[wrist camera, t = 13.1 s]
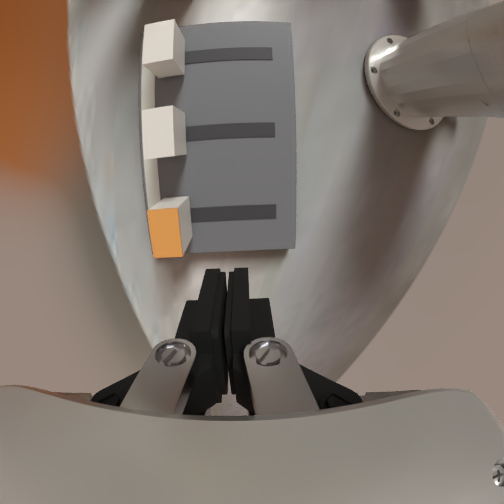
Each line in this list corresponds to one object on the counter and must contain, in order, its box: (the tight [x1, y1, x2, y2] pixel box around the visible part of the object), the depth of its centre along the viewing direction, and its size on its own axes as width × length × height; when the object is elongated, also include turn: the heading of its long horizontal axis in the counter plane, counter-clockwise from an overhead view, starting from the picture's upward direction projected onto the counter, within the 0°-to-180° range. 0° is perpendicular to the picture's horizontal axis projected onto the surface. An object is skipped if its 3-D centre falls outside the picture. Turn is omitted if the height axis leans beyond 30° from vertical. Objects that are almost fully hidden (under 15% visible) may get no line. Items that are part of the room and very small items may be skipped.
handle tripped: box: [147, 196, 193, 258], centre depth 23 cm, size 2×4×5 cm, turn 2°
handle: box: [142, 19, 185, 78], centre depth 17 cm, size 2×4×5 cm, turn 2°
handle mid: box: [142, 105, 187, 160], centre depth 20 cm, size 2×4×5 cm, turn 2°
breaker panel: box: [139, 21, 296, 254], centre depth 24 cm, size 15×24×3 cm, turn 2°
